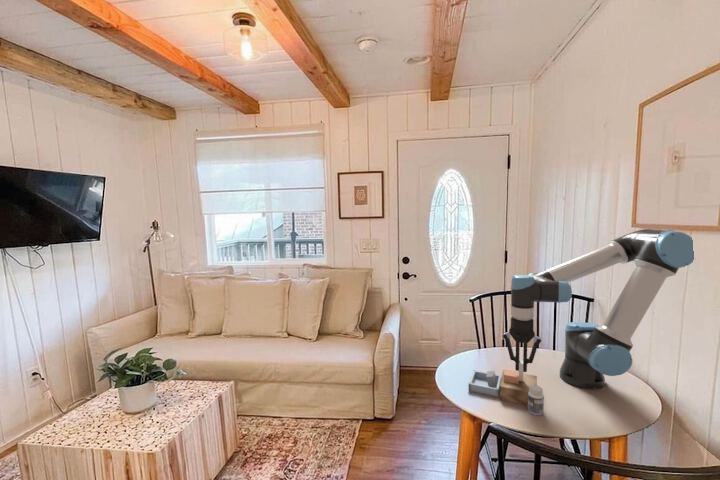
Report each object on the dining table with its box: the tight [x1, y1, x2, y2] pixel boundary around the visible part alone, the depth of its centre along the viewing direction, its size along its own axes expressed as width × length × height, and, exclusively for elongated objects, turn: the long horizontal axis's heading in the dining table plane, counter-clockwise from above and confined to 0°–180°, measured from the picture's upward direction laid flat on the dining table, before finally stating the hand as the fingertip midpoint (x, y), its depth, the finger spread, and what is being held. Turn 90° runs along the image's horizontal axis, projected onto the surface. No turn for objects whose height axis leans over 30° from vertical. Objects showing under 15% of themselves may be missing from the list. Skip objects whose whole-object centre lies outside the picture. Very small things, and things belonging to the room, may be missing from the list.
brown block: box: [499, 369, 538, 406], centre depth 124 cm, size 12×14×5 cm
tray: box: [468, 370, 502, 398], centre depth 130 cm, size 11×12×3 cm
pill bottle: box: [527, 384, 545, 416], centre depth 113 cm, size 5×5×8 cm
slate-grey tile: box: [486, 370, 497, 388], centre depth 129 cm, size 5×5×2 cm
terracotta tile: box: [504, 368, 519, 384], centre depth 125 cm, size 5×5×2 cm
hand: (520, 379), depth 124 cm, fingers closed
